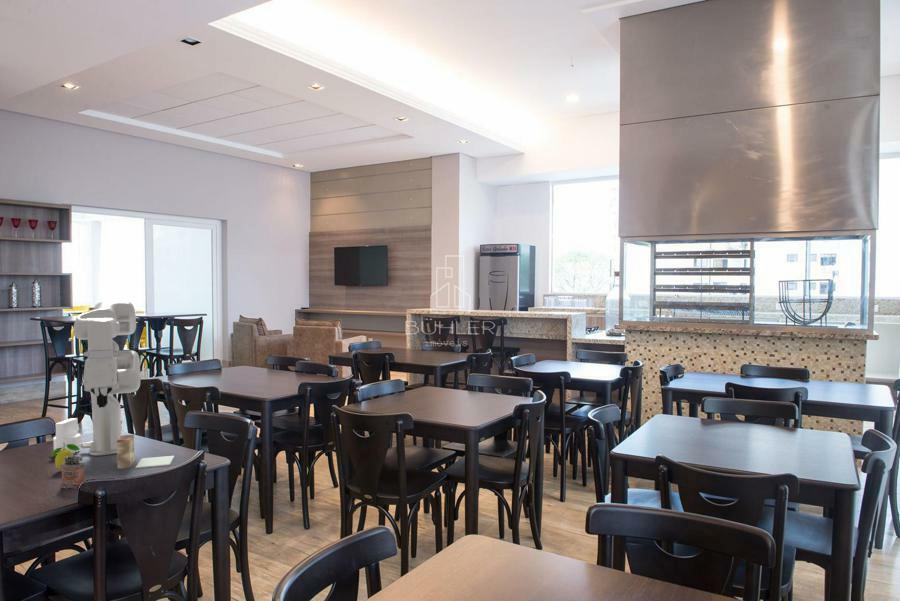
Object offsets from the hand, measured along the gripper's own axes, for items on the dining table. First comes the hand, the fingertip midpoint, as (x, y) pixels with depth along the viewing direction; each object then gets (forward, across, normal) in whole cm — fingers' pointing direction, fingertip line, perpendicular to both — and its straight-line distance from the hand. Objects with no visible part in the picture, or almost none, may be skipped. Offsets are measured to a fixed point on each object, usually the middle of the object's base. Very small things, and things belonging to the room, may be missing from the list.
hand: (102, 406), depth 210 cm
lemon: (+22, -12, 0) cm, 25 cm away
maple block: (+22, +7, 0) cm, 23 cm away
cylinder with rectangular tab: (+22, -19, +27) cm, 40 cm away
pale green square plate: (+22, +16, 0) cm, 27 cm away
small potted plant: (+22, -4, -20) cm, 30 cm away
